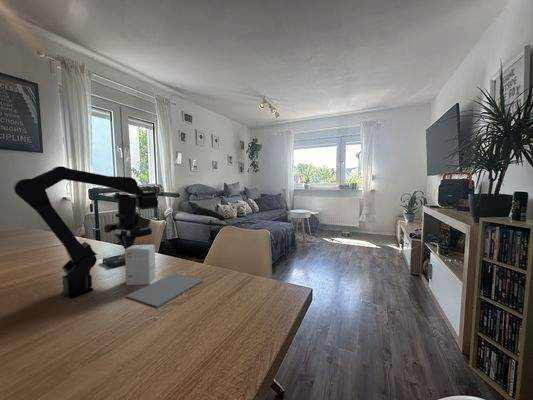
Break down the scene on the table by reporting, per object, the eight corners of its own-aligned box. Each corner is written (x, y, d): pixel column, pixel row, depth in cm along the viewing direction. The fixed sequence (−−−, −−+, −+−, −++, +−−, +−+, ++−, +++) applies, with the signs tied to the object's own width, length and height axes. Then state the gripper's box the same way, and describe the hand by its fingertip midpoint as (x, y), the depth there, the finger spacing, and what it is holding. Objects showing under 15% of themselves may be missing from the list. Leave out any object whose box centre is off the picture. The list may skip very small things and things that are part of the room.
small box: (156, 277, 89) (155, 244, 88) (149, 284, 83) (148, 249, 82) (134, 278, 88) (133, 244, 87) (125, 285, 82) (124, 249, 81)
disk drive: (112, 270, 97) (147, 260, 109) (111, 263, 96) (147, 254, 108) (102, 264, 103) (136, 255, 115) (101, 258, 102) (136, 250, 114)
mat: (157, 307, 68) (157, 306, 68) (126, 297, 74) (126, 295, 74) (202, 281, 86) (202, 280, 86) (174, 274, 92) (174, 273, 92)
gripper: (163, 210, 90) (164, 249, 91) (130, 207, 97) (131, 243, 98) (137, 213, 79) (138, 258, 81) (102, 210, 87) (104, 250, 88)
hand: (128, 252), depth 87 cm, fingers closed
